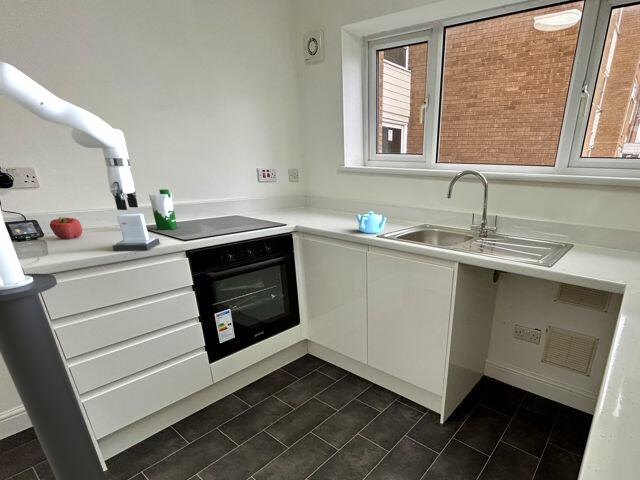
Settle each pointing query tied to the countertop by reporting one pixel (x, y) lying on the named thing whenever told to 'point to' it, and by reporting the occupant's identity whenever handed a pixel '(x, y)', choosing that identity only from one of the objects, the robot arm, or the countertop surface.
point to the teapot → (371, 223)
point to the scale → (136, 245)
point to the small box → (133, 227)
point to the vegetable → (66, 227)
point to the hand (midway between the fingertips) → (128, 208)
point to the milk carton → (163, 210)
